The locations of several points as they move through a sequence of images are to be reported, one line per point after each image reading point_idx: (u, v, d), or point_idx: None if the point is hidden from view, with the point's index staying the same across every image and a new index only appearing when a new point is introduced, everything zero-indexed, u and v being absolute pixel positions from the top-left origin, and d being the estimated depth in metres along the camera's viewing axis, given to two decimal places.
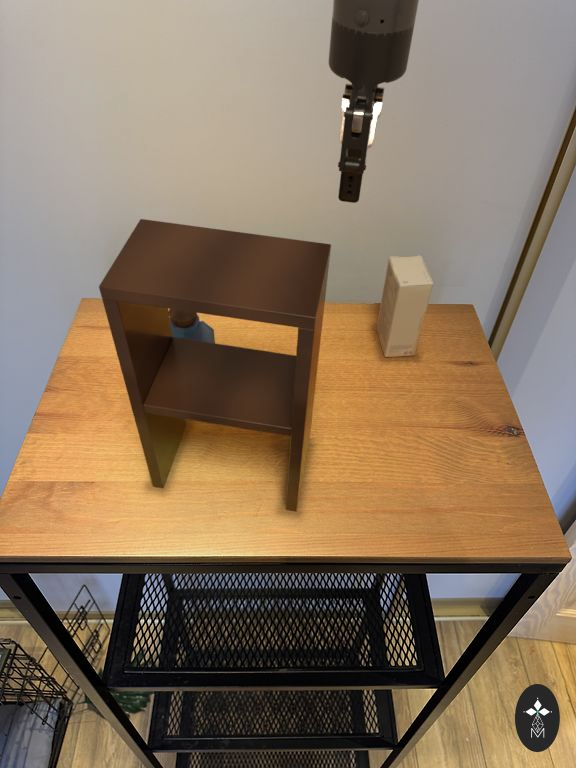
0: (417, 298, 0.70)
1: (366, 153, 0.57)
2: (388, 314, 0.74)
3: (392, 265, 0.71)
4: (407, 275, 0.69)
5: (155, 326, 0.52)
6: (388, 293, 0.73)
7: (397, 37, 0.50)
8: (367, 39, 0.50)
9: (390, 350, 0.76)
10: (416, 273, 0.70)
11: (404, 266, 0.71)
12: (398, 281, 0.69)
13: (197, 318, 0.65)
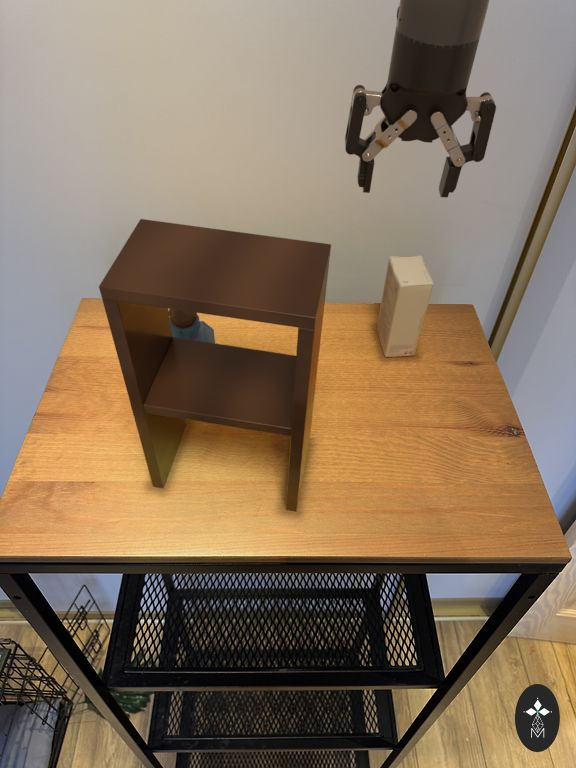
0: (417, 298, 0.70)
1: (370, 145, 0.58)
2: (388, 314, 0.74)
3: (392, 265, 0.71)
4: (408, 275, 0.69)
5: (155, 326, 0.52)
6: (388, 293, 0.73)
7: (407, 43, 0.50)
8: (395, 33, 0.52)
9: (390, 350, 0.76)
10: (416, 273, 0.70)
11: (405, 266, 0.71)
12: (398, 281, 0.69)
13: (197, 318, 0.65)
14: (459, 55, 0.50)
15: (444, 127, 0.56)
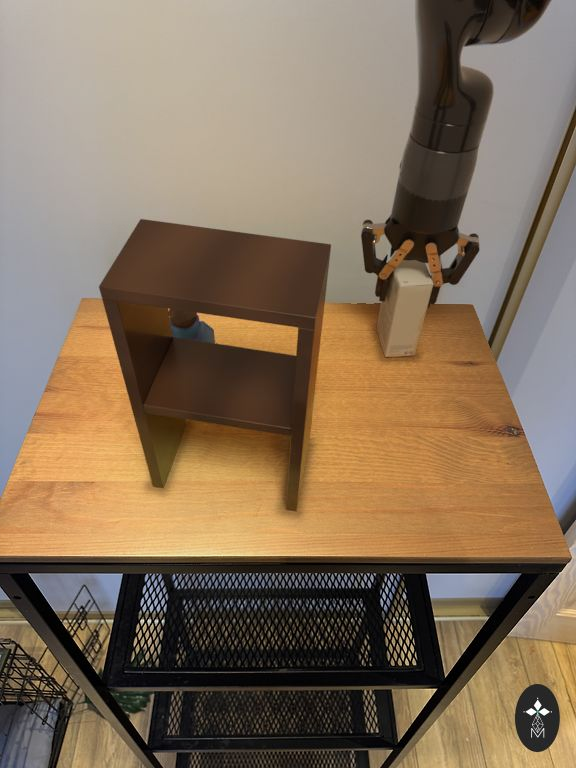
0: (417, 298, 0.70)
1: (383, 267, 0.69)
2: (388, 314, 0.74)
3: None
4: (408, 275, 0.69)
5: (155, 326, 0.52)
6: (388, 293, 0.73)
7: (405, 193, 0.60)
8: None
9: (390, 350, 0.76)
10: (416, 273, 0.70)
11: (404, 266, 0.71)
12: (398, 281, 0.69)
13: (197, 318, 0.65)
14: (447, 206, 0.59)
15: (437, 254, 0.66)
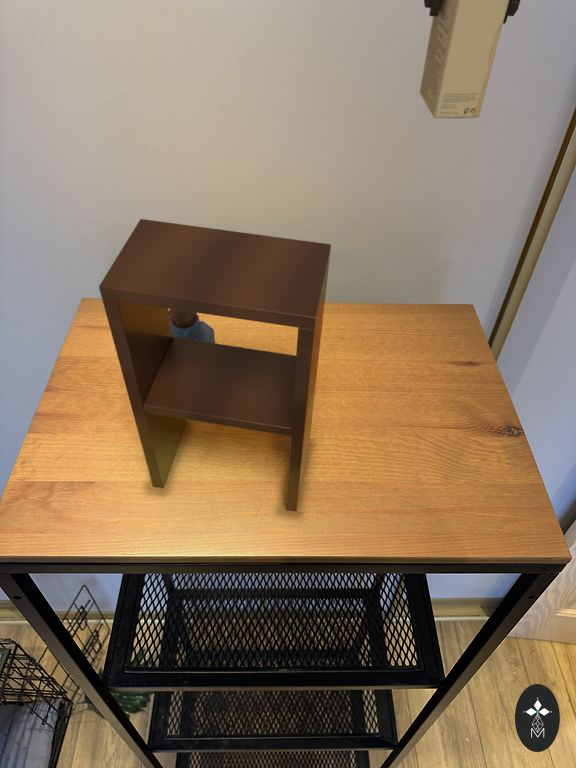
0: None
1: None
2: (442, 38, 0.49)
3: None
4: None
5: (155, 326, 0.52)
6: (444, 2, 0.48)
7: None
8: None
9: (444, 103, 0.51)
10: None
11: None
12: None
13: (197, 318, 0.65)
14: None
15: None
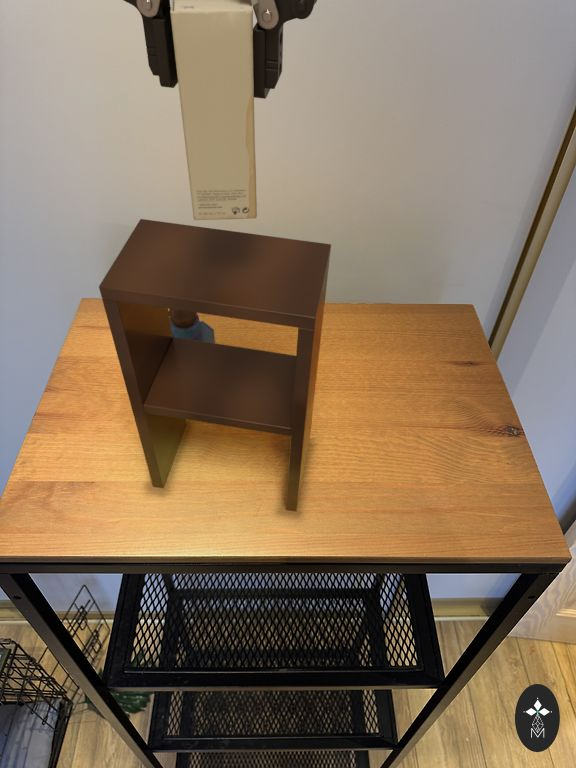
0: (223, 53, 0.30)
1: None
2: None
3: None
4: (200, 0, 0.30)
5: (155, 326, 0.52)
6: None
7: None
8: None
9: (200, 202, 0.37)
10: None
11: None
12: (173, 7, 0.30)
13: (197, 318, 0.65)
14: None
15: None
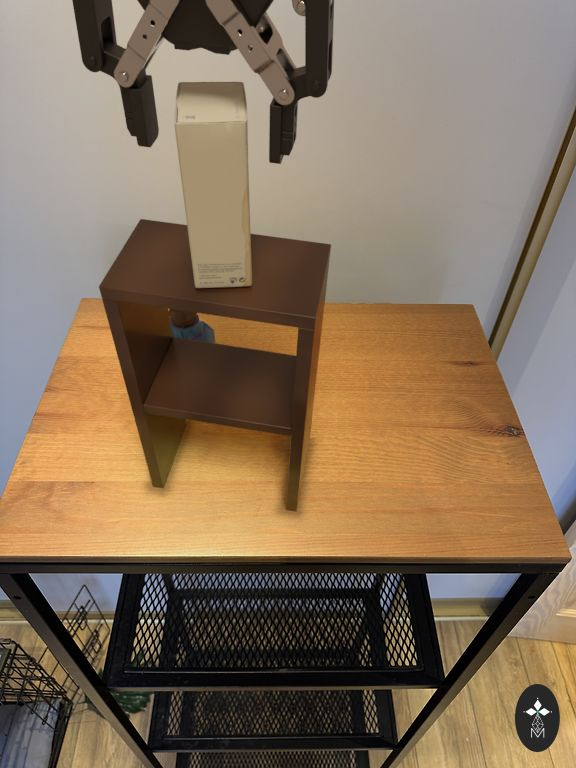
0: (221, 155, 0.34)
1: (122, 55, 0.32)
2: None
3: (178, 94, 0.36)
4: (200, 108, 0.34)
5: (155, 326, 0.52)
6: None
7: None
8: None
9: (201, 273, 0.41)
10: (220, 105, 0.34)
11: (202, 95, 0.35)
12: (176, 116, 0.33)
13: (197, 318, 0.65)
14: None
15: (237, 21, 0.30)
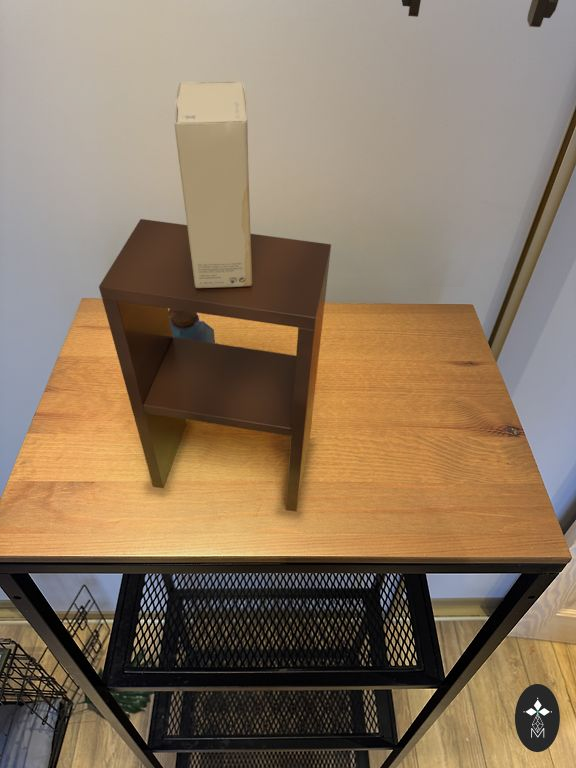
0: (221, 155, 0.34)
1: None
2: None
3: (178, 94, 0.36)
4: (200, 107, 0.34)
5: (155, 326, 0.52)
6: None
7: None
8: None
9: (201, 273, 0.41)
10: (220, 105, 0.34)
11: (202, 95, 0.35)
12: (176, 116, 0.33)
13: (197, 318, 0.65)
14: None
15: None
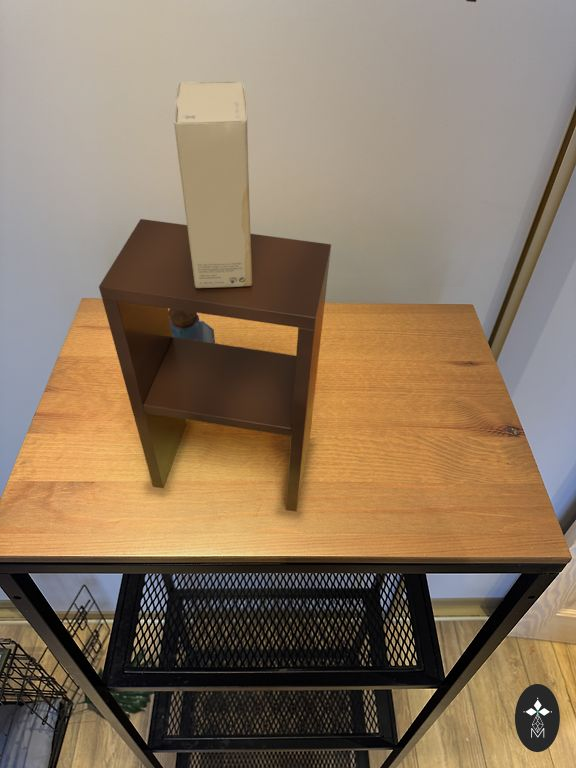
0: (221, 155, 0.34)
1: None
2: None
3: (178, 94, 0.36)
4: (200, 107, 0.34)
5: (155, 326, 0.52)
6: None
7: None
8: None
9: (201, 273, 0.41)
10: (220, 104, 0.34)
11: (202, 95, 0.35)
12: (176, 116, 0.33)
13: (197, 318, 0.65)
14: None
15: None
